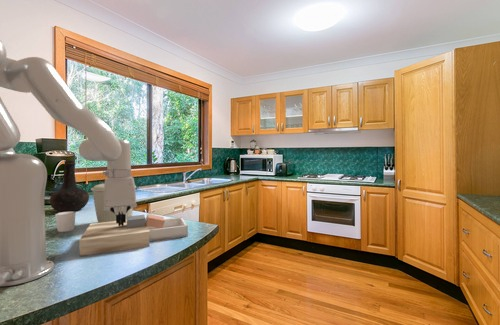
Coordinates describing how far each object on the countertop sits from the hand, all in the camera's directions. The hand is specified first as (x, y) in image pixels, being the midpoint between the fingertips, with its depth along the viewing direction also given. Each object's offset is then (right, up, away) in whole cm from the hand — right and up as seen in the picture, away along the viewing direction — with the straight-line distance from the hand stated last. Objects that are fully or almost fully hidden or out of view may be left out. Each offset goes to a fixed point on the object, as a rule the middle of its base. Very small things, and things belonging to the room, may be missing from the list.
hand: (121, 224), depth 91 cm
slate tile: (+5, -1, +2) cm, 5 cm away
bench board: (-1, -6, 0) cm, 6 cm away
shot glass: (-30, -6, +14) cm, 34 cm away
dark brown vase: (-54, -5, +49) cm, 73 cm away
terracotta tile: (+10, -1, +4) cm, 11 cm away
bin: (+14, -6, +8) cm, 17 cm away
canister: (-15, -5, +23) cm, 28 cm away
